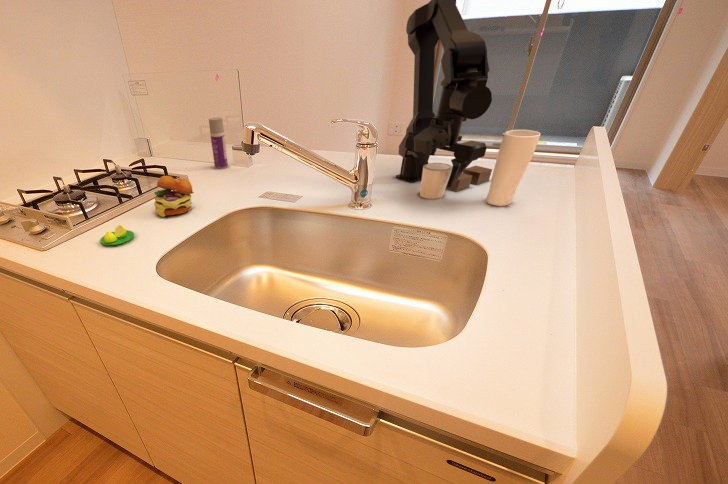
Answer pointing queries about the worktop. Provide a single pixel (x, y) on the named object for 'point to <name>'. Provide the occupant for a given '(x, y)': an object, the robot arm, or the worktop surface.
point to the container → (218, 142)
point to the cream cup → (434, 180)
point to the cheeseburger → (173, 196)
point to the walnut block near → (461, 182)
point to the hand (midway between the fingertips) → (434, 182)
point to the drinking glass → (511, 165)
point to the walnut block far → (478, 174)
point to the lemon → (117, 236)
